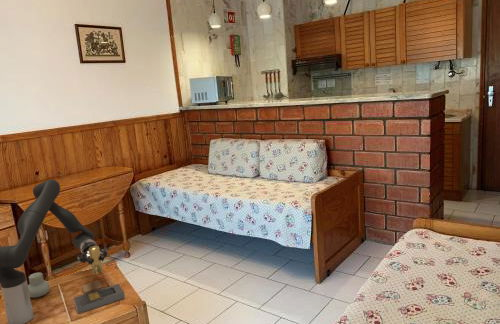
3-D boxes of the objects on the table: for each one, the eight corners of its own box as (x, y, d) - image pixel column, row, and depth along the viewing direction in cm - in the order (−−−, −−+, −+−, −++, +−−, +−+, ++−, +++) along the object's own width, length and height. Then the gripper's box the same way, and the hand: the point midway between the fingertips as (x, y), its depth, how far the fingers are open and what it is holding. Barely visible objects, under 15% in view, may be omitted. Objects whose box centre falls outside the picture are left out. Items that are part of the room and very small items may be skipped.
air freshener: (52, 294, 188) (48, 275, 186) (33, 301, 183) (29, 282, 181) (44, 287, 196) (41, 268, 194) (26, 294, 190) (22, 275, 188)
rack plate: (78, 313, 170) (76, 307, 169) (74, 303, 178) (73, 297, 177) (124, 298, 180) (124, 291, 179) (119, 289, 188) (118, 283, 187)
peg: (93, 275, 180) (89, 250, 177) (91, 271, 183) (87, 247, 181) (103, 272, 182) (99, 247, 179) (101, 268, 186) (97, 244, 183)
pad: (84, 296, 184) (84, 292, 184) (82, 289, 191) (81, 285, 190) (102, 290, 188) (102, 286, 188) (99, 284, 195) (98, 280, 194)
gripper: (72, 245, 189) (78, 257, 175) (103, 237, 196) (111, 248, 182) (75, 260, 190) (81, 273, 176) (105, 251, 198) (114, 263, 183)
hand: (96, 260), depth 179 cm, fingers closed on peg, 4 cm apart
